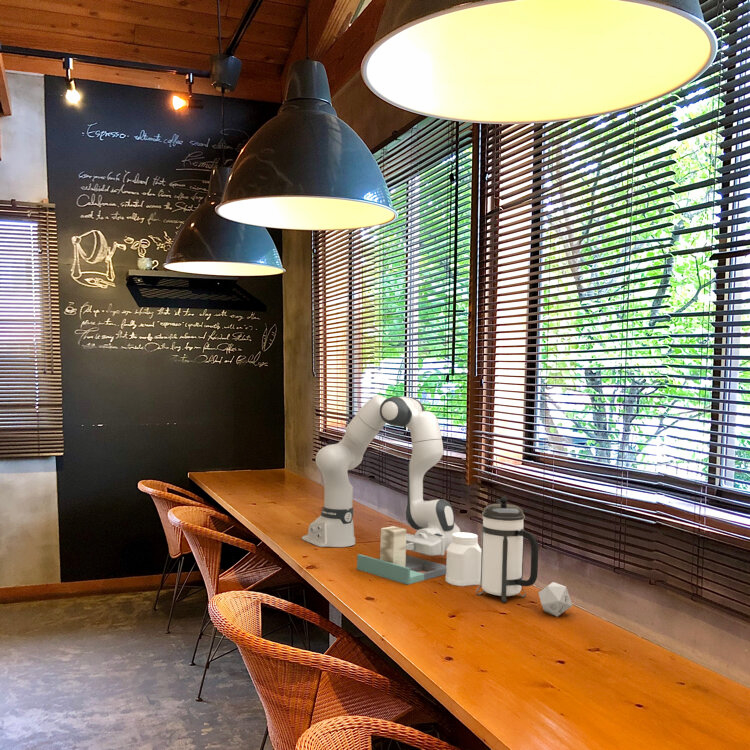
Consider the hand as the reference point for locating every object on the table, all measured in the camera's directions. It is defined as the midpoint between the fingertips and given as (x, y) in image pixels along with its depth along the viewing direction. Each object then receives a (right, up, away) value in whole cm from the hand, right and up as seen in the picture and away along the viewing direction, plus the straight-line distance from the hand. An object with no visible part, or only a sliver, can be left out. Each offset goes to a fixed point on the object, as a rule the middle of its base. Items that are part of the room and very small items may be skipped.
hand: (399, 546), depth 234 cm
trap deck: (+2, -9, +2) cm, 9 cm away
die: (+43, -10, -37) cm, 57 cm away
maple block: (-2, -6, -2) cm, 7 cm away
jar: (+21, -9, -8) cm, 24 cm away
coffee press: (+31, -10, -23) cm, 40 cm away
